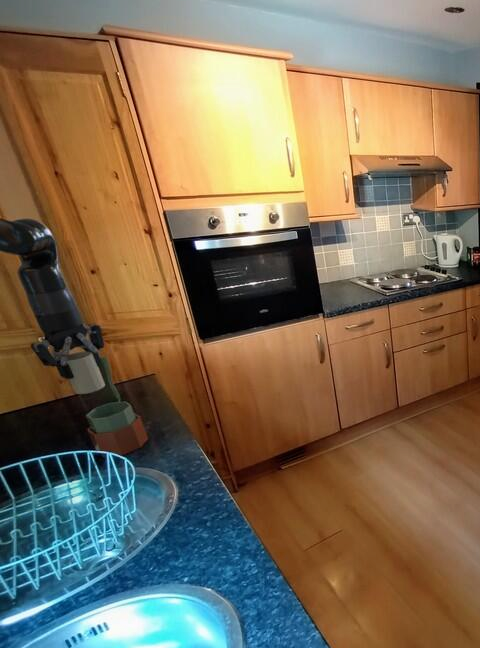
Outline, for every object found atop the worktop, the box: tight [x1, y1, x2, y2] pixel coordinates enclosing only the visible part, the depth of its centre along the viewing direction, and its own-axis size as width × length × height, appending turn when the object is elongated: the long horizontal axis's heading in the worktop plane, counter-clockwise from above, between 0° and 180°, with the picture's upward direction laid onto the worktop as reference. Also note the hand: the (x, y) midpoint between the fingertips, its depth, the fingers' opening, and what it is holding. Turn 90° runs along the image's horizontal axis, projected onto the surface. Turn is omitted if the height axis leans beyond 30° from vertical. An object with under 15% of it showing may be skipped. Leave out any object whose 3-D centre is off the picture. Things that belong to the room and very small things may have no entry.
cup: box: [67, 351, 105, 395], centre depth 112 cm, size 6×6×9 cm
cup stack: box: [85, 401, 149, 458], centre depth 118 cm, size 10×10×11 cm
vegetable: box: [98, 349, 121, 403], centre depth 136 cm, size 4×4×20 cm
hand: (83, 372), depth 112 cm, fingers closed on cup, 6 cm apart
